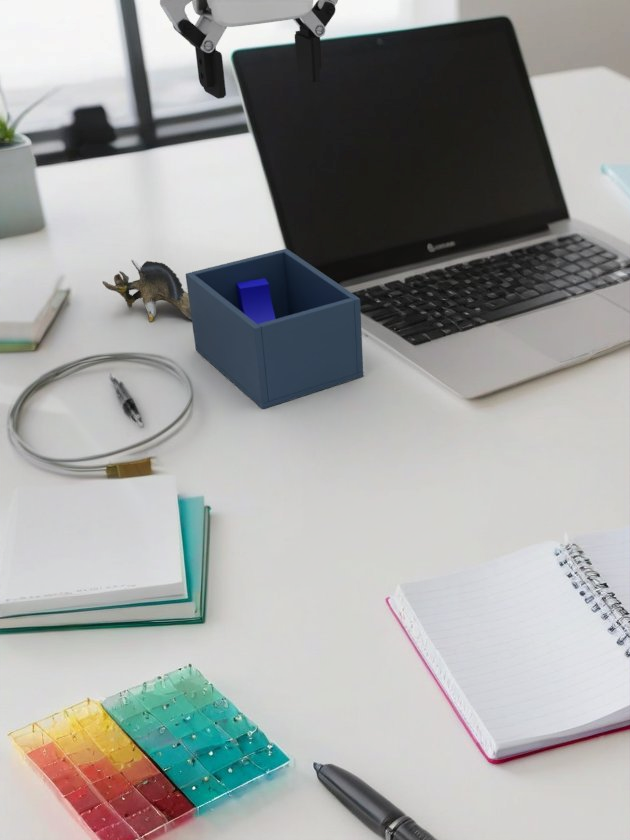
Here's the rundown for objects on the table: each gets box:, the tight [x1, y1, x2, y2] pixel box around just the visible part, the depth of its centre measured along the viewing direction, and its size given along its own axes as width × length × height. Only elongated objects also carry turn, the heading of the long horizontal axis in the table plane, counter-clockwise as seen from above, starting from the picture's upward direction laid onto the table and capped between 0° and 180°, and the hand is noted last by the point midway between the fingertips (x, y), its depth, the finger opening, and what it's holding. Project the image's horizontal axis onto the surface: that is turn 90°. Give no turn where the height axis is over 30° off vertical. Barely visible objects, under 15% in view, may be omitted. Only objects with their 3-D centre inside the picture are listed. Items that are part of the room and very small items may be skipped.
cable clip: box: [236, 278, 276, 324], centre depth 116 cm, size 12×4×6 cm, turn 26°
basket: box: [185, 248, 364, 410], centre depth 116 cm, size 11×14×9 cm
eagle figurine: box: [102, 259, 192, 323], centre depth 125 cm, size 8×7×9 cm
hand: (262, 86), depth 107 cm, fingers open, 9 cm apart
